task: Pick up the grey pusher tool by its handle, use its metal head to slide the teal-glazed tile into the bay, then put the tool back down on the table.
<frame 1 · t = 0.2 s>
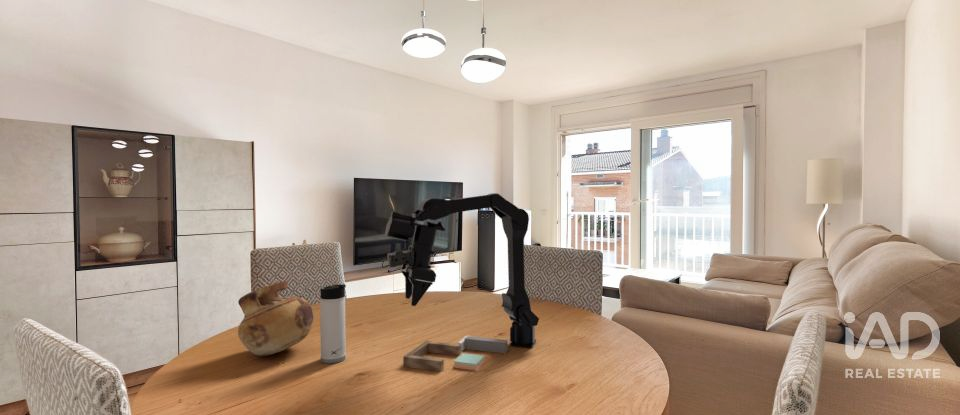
hand: (410, 302, 113), 15 cm above the table, tool pointing down, fingers open, 9 cm apart
clay pot: (277, 354, 119), on the table
pusher tool: (485, 349, 121), on the table
travel mug: (333, 360, 114), on the table
tile: (469, 366, 110), on the table
bay: (433, 359, 113), on the table
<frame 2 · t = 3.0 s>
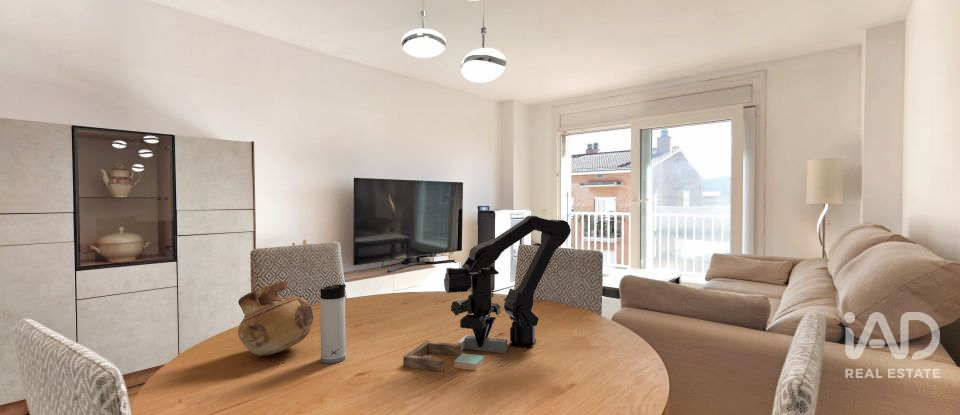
hand: (481, 345, 121), 1 cm above the table, tool pointing down, fingers closed on pusher tool, 2 cm apart
pusher tool: (485, 349, 121), on the table, touching gripper
everything else where it was.
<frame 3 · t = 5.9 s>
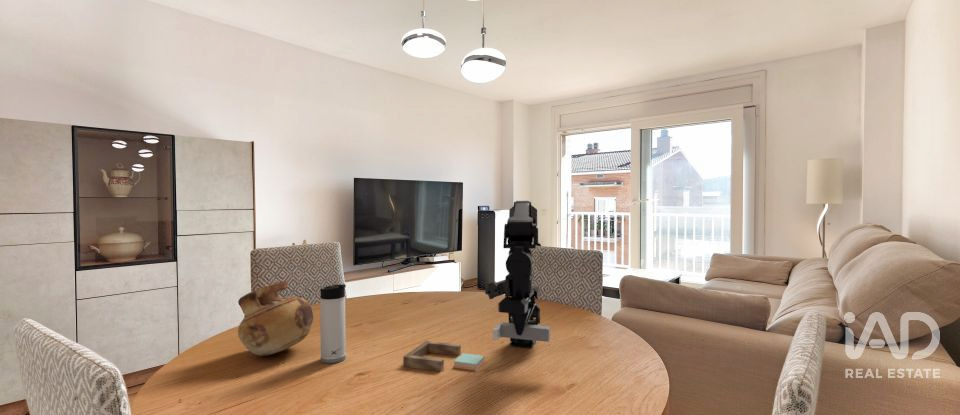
hand: (520, 333, 105), 9 cm above the table, tool pointing down, fingers closed on pusher tool, 2 cm apart
pusher tool: (525, 337, 105), point 8 cm above the table, touching gripper
everything else where it was.
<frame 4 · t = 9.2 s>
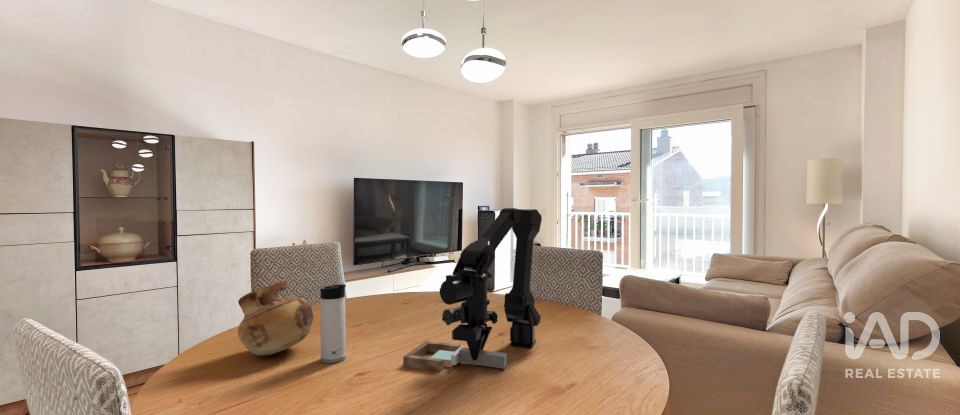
hand: (476, 358, 109), 2 cm above the table, tool pointing down, fingers closed on pusher tool, 2 cm apart
pusher tool: (482, 363, 108), point 1 cm above the table, touching gripper
tile: (445, 362, 112), on the table
everything else where it was.
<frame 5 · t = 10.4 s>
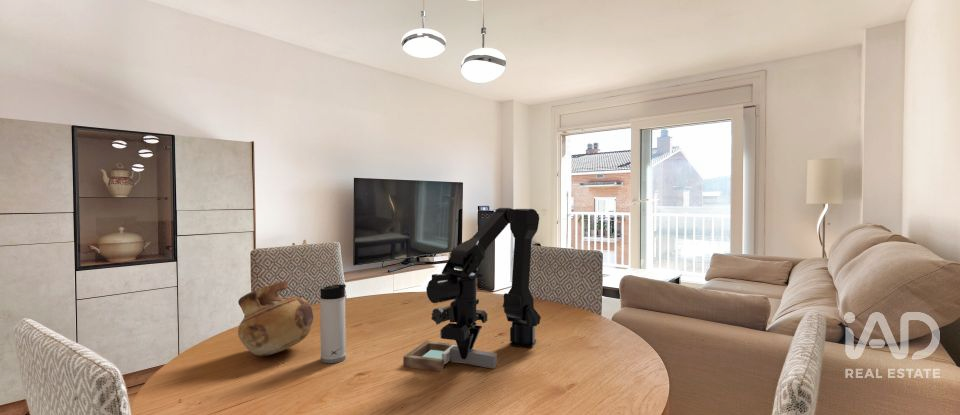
hand: (465, 357, 110), 2 cm above the table, tool pointing down, fingers closed on pusher tool, 2 cm apart
pusher tool: (472, 362, 109), point 1 cm above the table, touching gripper
tile: (436, 362, 113), on the table
everything else where it was.
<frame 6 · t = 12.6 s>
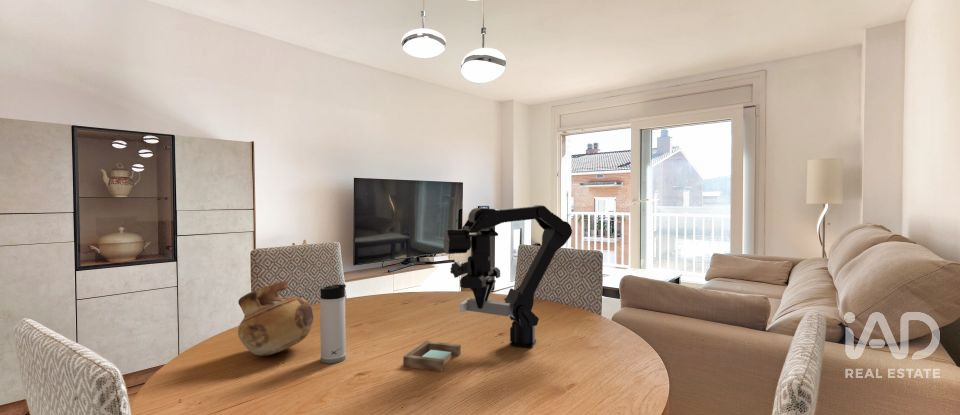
hand: (481, 307, 121), 12 cm above the table, tool pointing down, fingers closed on pusher tool, 2 cm apart
pusher tool: (488, 312, 120), point 11 cm above the table, touching gripper
everything else where it was.
when the fingers open (2 cm above the table, at t = 14.5 s): pusher tool drops 1 cm, on the table.
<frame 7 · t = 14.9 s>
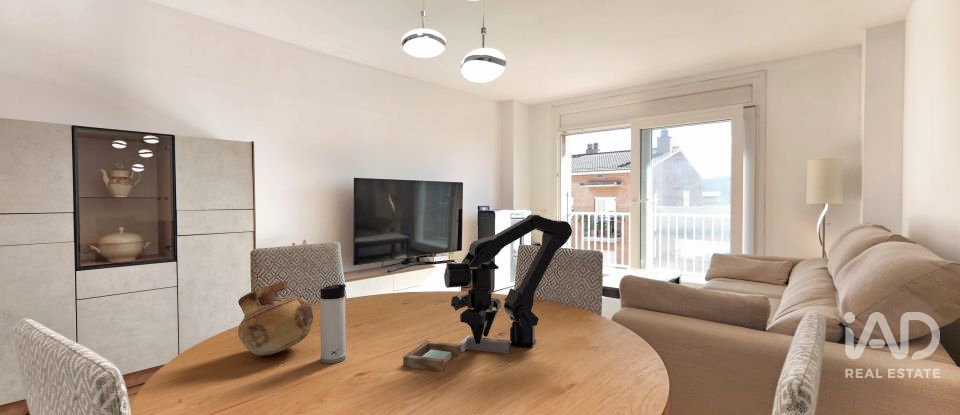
hand: (481, 340, 121), 2 cm above the table, tool pointing down, fingers open, 7 cm apart
pusher tool: (488, 350, 121), on the table
everything else where it was.
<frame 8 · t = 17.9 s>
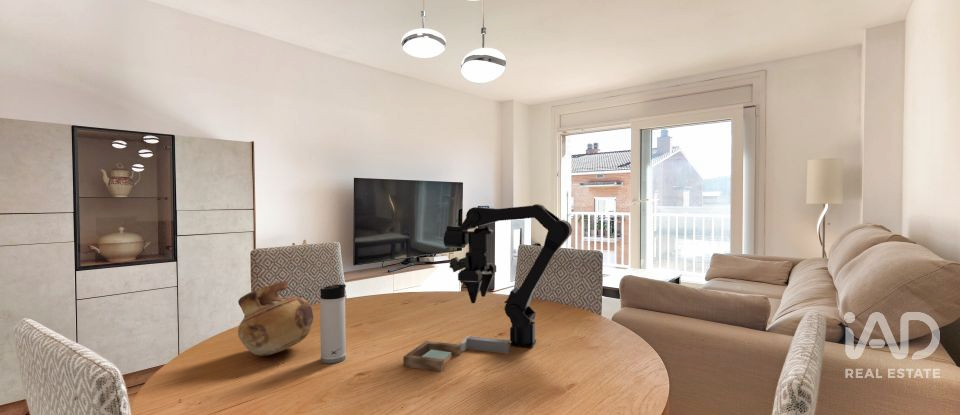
hand: (478, 299, 130), 12 cm above the table, tool pointing down, fingers open, 9 cm apart
nothing on the table moved.
at the end: tile 0.1 cm from the target spot on the bay, point -0.5 cm above the bay's base; tile tilted 0°; the gripper is holding nothing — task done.
